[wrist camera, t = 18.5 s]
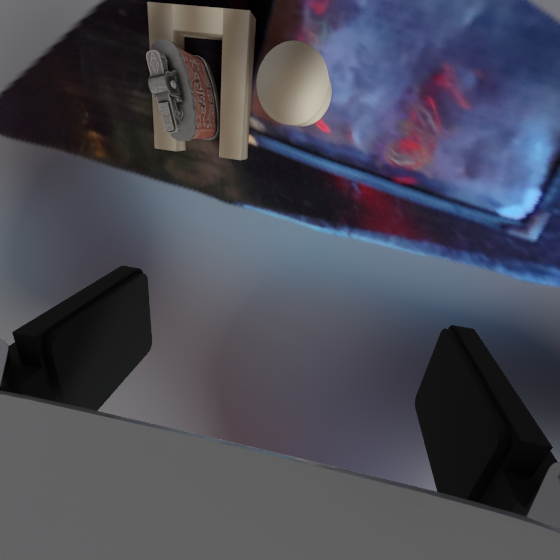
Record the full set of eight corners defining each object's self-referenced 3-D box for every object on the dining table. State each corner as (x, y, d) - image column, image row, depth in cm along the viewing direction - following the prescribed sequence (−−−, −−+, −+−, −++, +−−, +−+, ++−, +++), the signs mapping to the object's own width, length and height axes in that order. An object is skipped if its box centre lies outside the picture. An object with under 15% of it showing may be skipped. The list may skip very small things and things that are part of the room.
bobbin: (336, 63, 32) (334, 44, 25) (326, 129, 35) (322, 129, 28) (277, 57, 33) (259, 37, 26) (271, 122, 36) (254, 120, 29)
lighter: (180, 60, 35) (124, 35, 26) (210, 53, 34) (163, 26, 25) (198, 141, 38) (153, 144, 29) (225, 137, 37) (188, 139, 28)
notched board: (256, 18, 32) (249, 10, 30) (247, 158, 38) (241, 160, 35) (160, 10, 33) (147, 1, 31) (165, 147, 39) (154, 148, 37)
